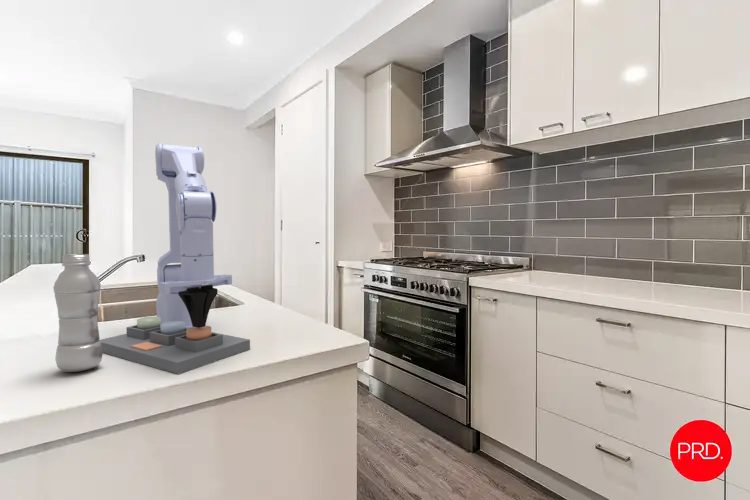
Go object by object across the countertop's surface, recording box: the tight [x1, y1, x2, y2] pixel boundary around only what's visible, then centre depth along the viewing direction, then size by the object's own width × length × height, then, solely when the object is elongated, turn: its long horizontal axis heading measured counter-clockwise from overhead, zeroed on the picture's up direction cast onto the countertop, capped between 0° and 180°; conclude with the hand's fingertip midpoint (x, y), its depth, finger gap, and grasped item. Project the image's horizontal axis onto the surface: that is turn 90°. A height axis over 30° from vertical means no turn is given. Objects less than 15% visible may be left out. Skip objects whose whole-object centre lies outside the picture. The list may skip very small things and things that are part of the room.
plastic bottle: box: [53, 253, 104, 373], centre depth 69 cm, size 6×7×20 cm
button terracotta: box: [186, 325, 213, 341], centre depth 77 cm, size 4×4×2 cm
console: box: [99, 323, 251, 375], centre depth 81 cm, size 26×16×4 cm, turn 61°
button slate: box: [160, 321, 185, 335], centre depth 81 cm, size 4×4×2 cm
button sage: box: [136, 316, 161, 330], centre depth 85 cm, size 4×4×2 cm
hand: (198, 326), depth 77 cm, fingers closed
